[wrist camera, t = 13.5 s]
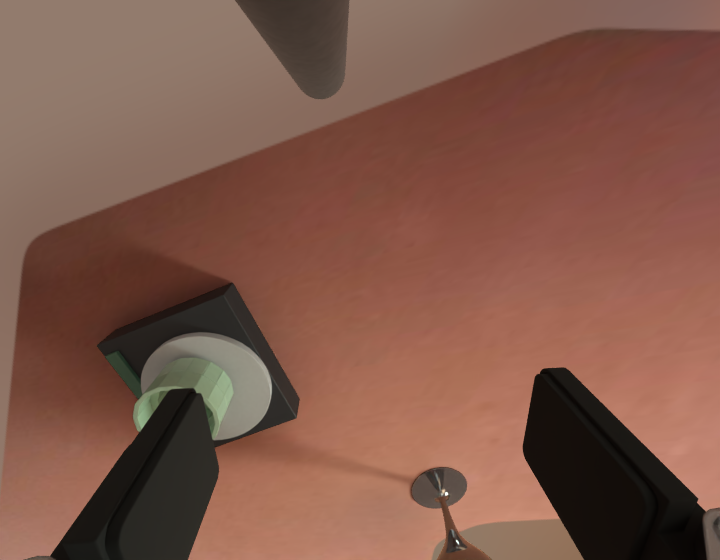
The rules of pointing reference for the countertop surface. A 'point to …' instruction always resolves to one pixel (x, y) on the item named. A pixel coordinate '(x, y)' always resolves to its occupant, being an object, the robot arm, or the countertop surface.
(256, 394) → the scale
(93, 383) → the countertop surface
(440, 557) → the wine glass
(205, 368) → the bowl
